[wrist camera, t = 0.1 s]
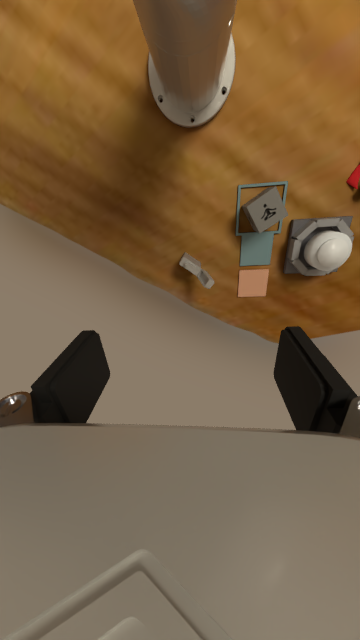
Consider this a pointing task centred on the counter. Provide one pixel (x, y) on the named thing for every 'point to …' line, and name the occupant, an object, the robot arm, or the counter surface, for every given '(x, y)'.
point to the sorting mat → (255, 253)
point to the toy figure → (354, 177)
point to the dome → (327, 250)
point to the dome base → (303, 233)
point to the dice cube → (265, 209)
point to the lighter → (196, 270)
